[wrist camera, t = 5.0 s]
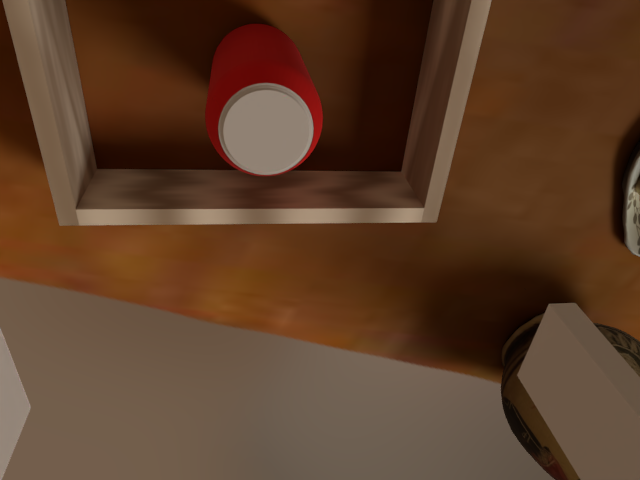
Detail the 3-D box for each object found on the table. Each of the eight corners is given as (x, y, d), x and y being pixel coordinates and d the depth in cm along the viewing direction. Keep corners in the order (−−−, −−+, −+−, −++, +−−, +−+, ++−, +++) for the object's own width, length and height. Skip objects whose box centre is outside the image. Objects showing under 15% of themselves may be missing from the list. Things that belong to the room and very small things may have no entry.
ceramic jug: (606, 363, 59) (870, 685, 35) (483, 401, 60) (656, 743, 35) (615, 258, 49) (991, 603, 25) (468, 305, 50) (693, 686, 26)
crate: (464, -68, 31) (507, -64, 26) (412, 184, 41) (436, 222, 36) (21, -110, 27) (-27, -114, 22) (83, 183, 37) (59, 225, 32)
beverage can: (209, 105, 35) (199, 182, 25) (216, 12, 32) (208, 58, 22) (293, 117, 36) (315, 194, 26) (308, 29, 33) (339, 80, 23)
